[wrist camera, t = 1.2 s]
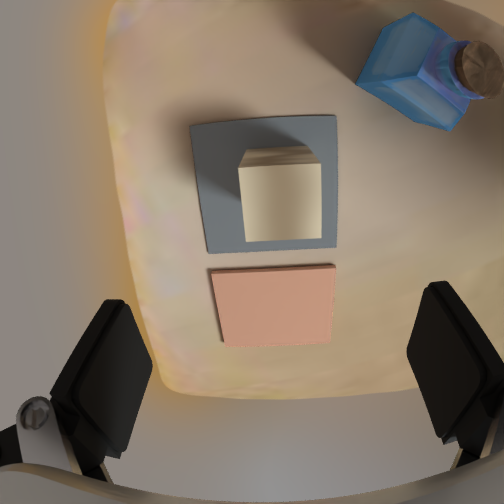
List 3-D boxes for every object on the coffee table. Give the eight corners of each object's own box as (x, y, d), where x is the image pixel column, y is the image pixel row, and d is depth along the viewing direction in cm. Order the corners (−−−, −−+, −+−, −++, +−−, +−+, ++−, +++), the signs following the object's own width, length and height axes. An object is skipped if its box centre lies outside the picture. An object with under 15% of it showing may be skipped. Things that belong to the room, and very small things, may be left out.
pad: (335, 264, 29) (336, 268, 29) (329, 339, 34) (329, 342, 33) (212, 270, 30) (211, 274, 30) (226, 343, 35) (225, 346, 34)
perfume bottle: (383, 27, 18) (457, -8, 8) (440, 67, 19) (531, 66, 9) (355, 84, 21) (420, 78, 11) (414, 121, 22) (500, 148, 12)
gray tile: (335, 115, 23) (336, 115, 22) (336, 246, 28) (336, 247, 28) (190, 125, 24) (189, 126, 24) (209, 252, 29) (208, 253, 29)
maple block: (307, 145, 24) (320, 163, 18) (309, 202, 26) (321, 238, 20) (246, 149, 24) (238, 167, 18) (251, 205, 27) (245, 241, 21)
